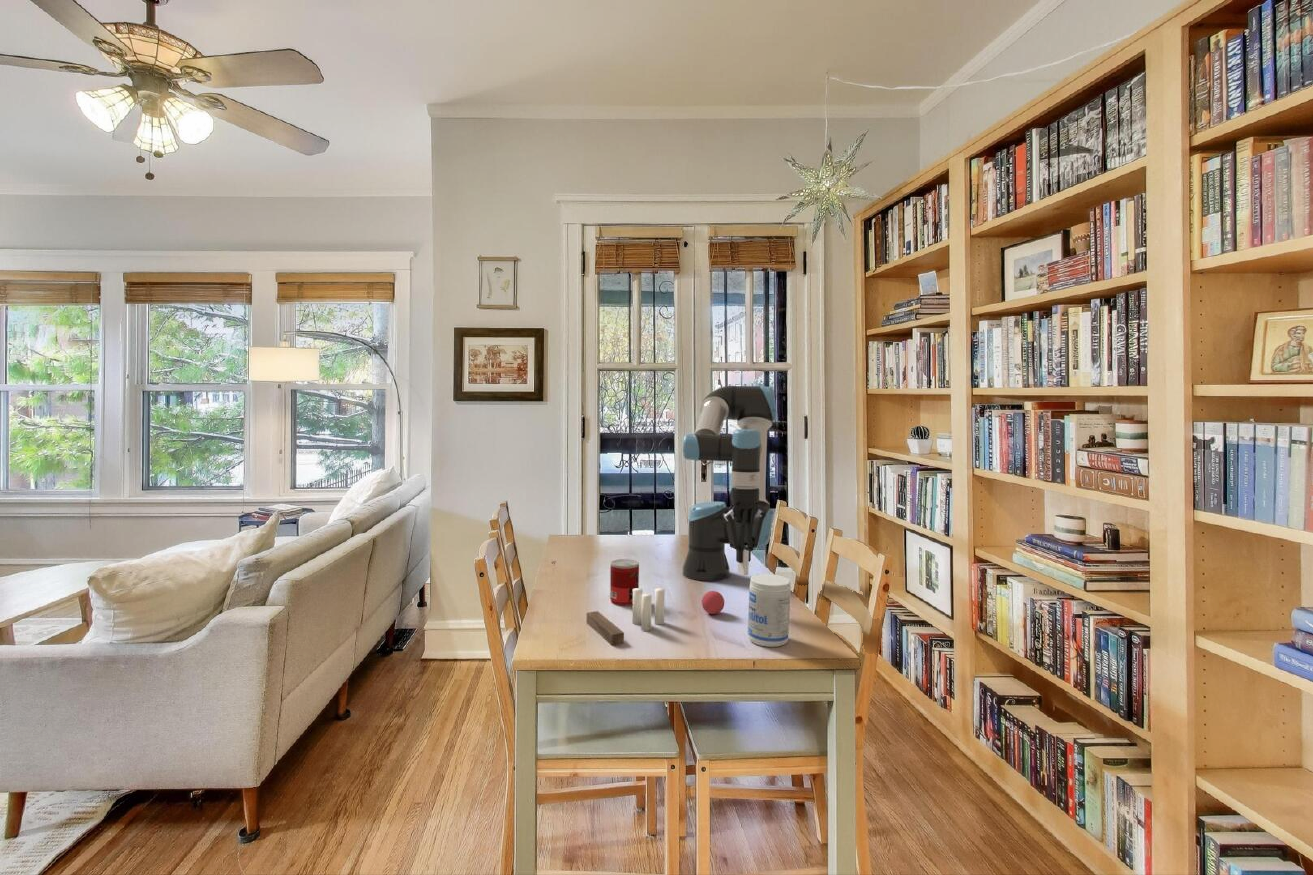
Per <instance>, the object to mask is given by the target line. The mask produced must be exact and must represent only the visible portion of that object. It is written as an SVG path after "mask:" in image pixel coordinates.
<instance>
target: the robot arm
mask: <svg viewBox="0 0 1313 875" xmlns="http://www.w3.org/2000/svg"><path fill="white" fill-rule="evenodd" d="M699 409H700V410H699V411H700V415H699V420H698V422H697V425H696V428H695V431H694V433H688V434H685V435H684V436H683V440H682V441H683V442H682V454H683V458H684V459H685V460H688V461H689V460H691V461H696V462H698V461H702V462H703V461H704V462H705V461H710V462H711V461H712V462H731V479H730V485H731V486H732V487H731V488H730V501H731V506H729V507H728V506H727V504H726V502H724V501H705V502H701V503H696V504H693V505H692V506H690V509H689V512H688V513H689V516H688V521H687V522H688V550H687V553H686V557H685V558H684V563H683V565H682V575H683V576H684V577H687V578H688V579H692V580H696V581H697V580H698V581H706V582H707V581H708V582H710V581H711V582H713V581H721V580H725V579H727V578H729V577H730V573H731V572H730V571H731V569H730V565H729V562H728V558H727V555H726V549H725V546H726V545H725V544H727V545H729V547H730V548H732V549H734V550H735V551H736V552H735V553H736V558H735V561H736V563H737V574H740V575H741V576H749V566H750V565H749V564H750V563H751V559H752V557H751V555H752V552H753V551H754V549H755V548H757V547H758V546H766V545H767V544H769V542H770V540H771V539H770V537H771V535H772V534H771V533H772V528H773V520H774V513H775V511H774V509H772V508H770V502H768V500H767V499H766V478H767V475H766V474H767V473H766V472H767V450H768V448H767V446H768V430H769V429H770V428H771V427H772V426H773V422H775V421H777V405H776V396H775V390H774V389H773V388H772V387H771V386H762V385H758V386H757V385H756V386H755V385H726V386H722V387H719V388H717V389H715V390H713V391H711V392H710V393H709V394H707V395H706V396H705V397H704V399H703V400H702V402H701V404H700V408H699ZM725 420H728V421H731V420H732V421H737V422H736V425H737V426H738V427H739V429H735V430H733V432H732V434H721V432H722V428H723V425H724V422H725ZM749 562H750V563H749Z"/></svg>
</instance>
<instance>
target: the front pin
mask: <svg viewBox="0 0 1313 875" xmlns="http://www.w3.org/2000/svg"><path fill="white" fill-rule="evenodd" d="M665 591H666V590H665V589H664V588H658V587H657V588H655V589H654V624H655V625H658V626H660V625H664V624H665V596H666V594H665Z"/></svg>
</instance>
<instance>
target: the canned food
mask: <svg viewBox="0 0 1313 875" xmlns="http://www.w3.org/2000/svg"><path fill="white" fill-rule="evenodd" d="M609 570H610V572H609V573H610V577H609V578H610V579H609V580H610V586H609V587H610V588H609V589H610V590H609V591H610V594H609V596H610V601H611V602H610V603H612V604H614V605H617V606H633V605H632V604H633V589H635V588H640V563H639V561H637V560H634V559H630V558H620V559H619V558H618V559H614V560H612V561H611V562H610V568H609Z"/></svg>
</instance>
